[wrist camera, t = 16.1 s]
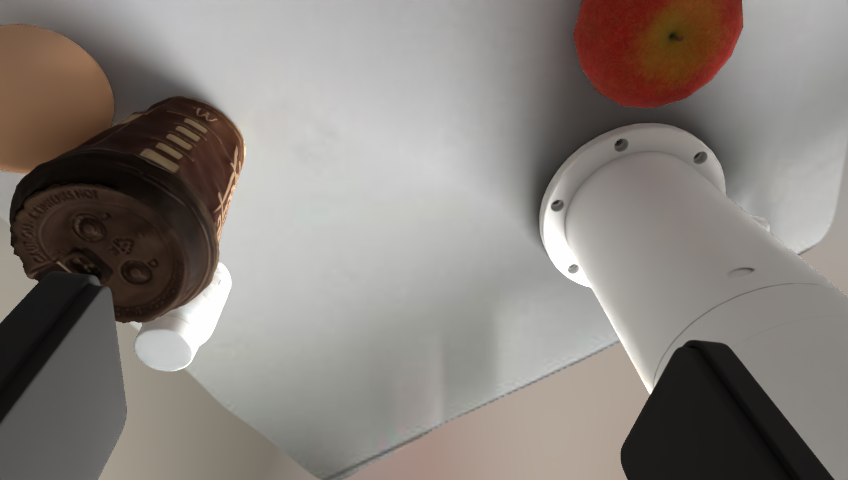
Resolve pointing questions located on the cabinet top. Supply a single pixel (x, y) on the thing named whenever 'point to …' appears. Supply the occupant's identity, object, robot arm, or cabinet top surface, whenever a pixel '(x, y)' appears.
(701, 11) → the apple
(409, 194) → the cabinet top surface
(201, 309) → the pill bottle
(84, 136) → the egg
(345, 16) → the cabinet top surface
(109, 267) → the coffee cup
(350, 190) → the cabinet top surface
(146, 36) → the cabinet top surface
